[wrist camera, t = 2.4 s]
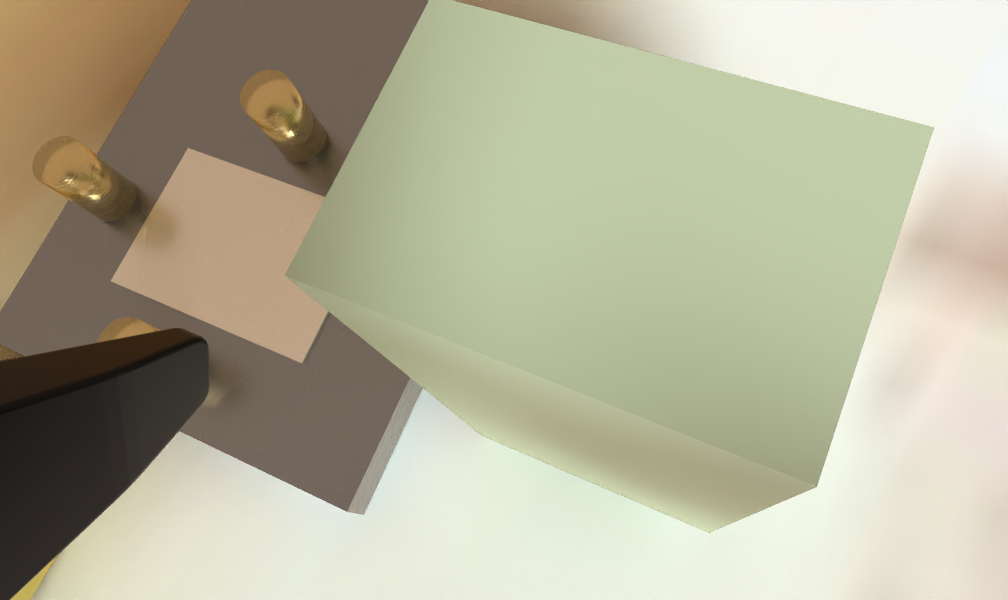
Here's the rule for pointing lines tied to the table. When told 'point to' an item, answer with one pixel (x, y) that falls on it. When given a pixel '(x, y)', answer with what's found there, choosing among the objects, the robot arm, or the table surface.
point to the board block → (616, 256)
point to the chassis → (232, 233)
